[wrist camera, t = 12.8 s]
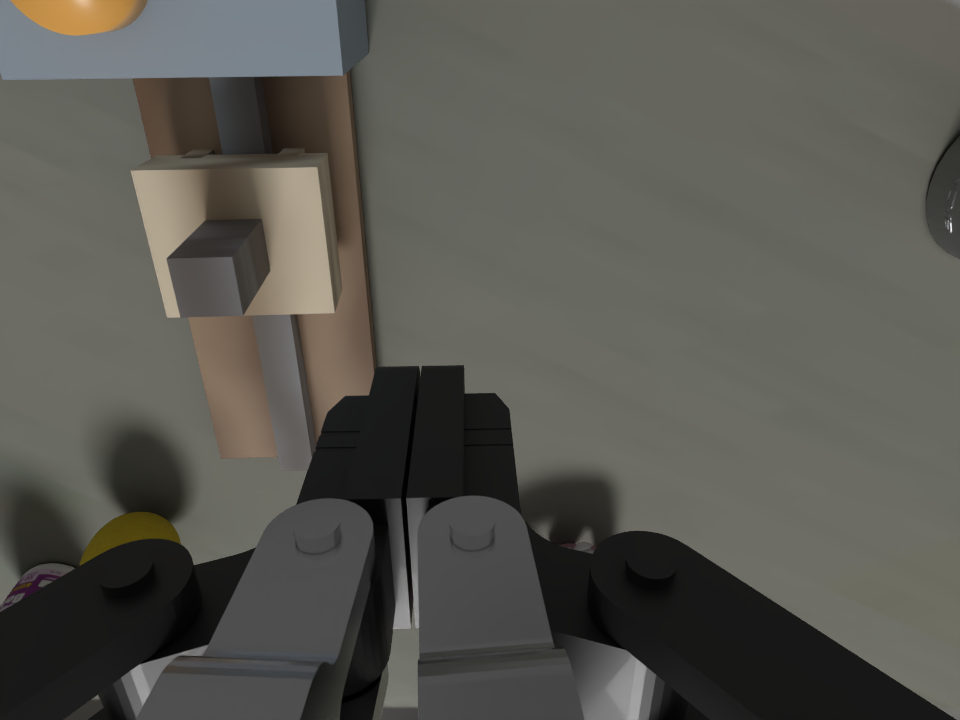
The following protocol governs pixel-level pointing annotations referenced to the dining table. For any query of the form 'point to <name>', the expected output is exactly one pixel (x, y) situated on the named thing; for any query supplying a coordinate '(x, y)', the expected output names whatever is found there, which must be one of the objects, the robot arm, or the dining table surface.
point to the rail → (322, 332)
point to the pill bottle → (35, 581)
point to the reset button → (81, 14)
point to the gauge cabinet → (194, 42)
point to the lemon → (129, 532)
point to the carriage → (241, 232)
